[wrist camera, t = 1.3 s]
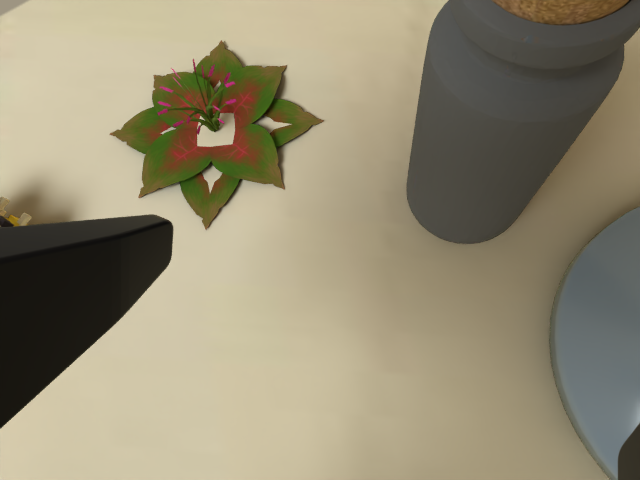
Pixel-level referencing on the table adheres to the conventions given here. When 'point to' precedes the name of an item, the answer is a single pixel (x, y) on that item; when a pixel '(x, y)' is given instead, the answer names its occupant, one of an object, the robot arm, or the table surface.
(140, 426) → the table surface
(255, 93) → the lily flower
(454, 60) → the bottle
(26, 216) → the cat figure
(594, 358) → the dish
